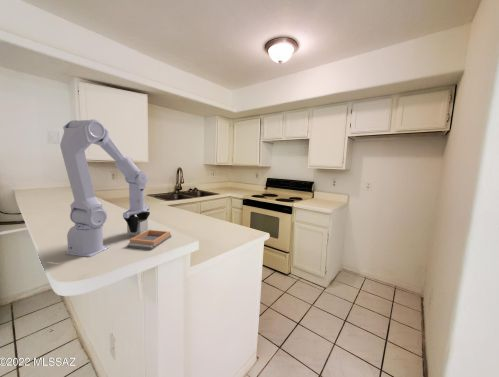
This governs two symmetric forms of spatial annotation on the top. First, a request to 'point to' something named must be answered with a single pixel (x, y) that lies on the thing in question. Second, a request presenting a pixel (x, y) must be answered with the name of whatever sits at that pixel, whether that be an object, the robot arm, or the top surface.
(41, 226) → the top surface
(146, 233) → the frame
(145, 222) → the brushed metal cube
